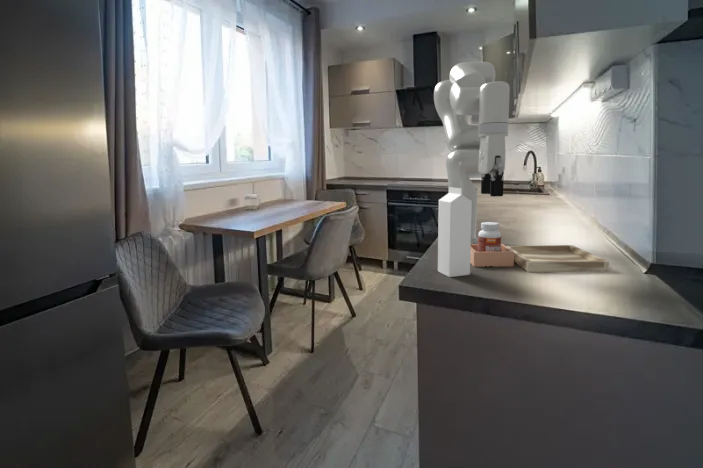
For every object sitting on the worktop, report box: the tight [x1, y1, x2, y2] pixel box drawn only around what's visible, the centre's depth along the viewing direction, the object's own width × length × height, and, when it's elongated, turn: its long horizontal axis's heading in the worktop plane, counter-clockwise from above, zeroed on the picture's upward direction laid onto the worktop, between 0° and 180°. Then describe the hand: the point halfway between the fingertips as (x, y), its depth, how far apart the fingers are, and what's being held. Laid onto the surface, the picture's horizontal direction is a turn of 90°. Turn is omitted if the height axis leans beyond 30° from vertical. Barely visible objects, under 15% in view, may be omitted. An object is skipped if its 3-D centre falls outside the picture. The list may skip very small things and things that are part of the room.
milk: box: [437, 187, 472, 278], centre depth 106 cm, size 6×6×22 cm
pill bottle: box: [477, 221, 502, 252], centre depth 117 cm, size 6×6×11 cm
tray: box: [506, 244, 610, 273], centre depth 116 cm, size 20×20×2 cm
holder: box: [470, 243, 515, 268], centre depth 118 cm, size 11×11×4 cm
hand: (491, 194), depth 114 cm, fingers open, 9 cm apart
